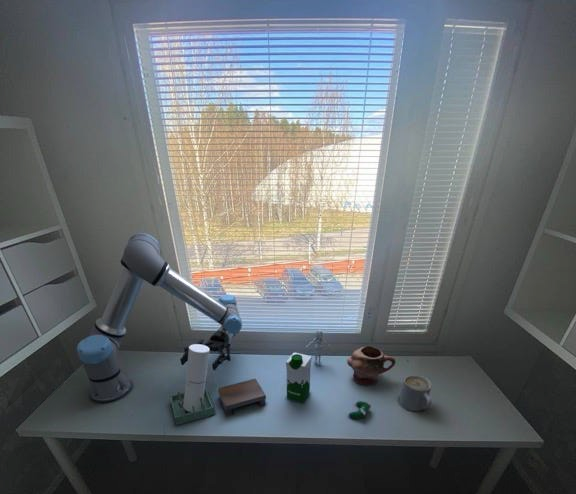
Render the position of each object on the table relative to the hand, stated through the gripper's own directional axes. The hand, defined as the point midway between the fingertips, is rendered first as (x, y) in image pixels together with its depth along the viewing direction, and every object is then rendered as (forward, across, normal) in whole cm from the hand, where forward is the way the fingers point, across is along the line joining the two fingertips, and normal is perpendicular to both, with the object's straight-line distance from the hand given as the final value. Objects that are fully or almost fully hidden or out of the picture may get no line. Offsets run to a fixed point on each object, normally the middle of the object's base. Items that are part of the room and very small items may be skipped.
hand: (197, 364), depth 124 cm
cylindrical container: (+9, 0, -14) cm, 17 cm away
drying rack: (+8, 0, -15) cm, 17 cm away
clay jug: (-30, -64, -16) cm, 73 cm away
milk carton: (-10, -38, -15) cm, 42 cm away
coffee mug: (-17, -83, -16) cm, 86 cm away
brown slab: (-1, -17, -15) cm, 23 cm away
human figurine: (-35, -41, -15) cm, 56 cm away
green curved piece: (-6, -63, -15) cm, 65 cm away
